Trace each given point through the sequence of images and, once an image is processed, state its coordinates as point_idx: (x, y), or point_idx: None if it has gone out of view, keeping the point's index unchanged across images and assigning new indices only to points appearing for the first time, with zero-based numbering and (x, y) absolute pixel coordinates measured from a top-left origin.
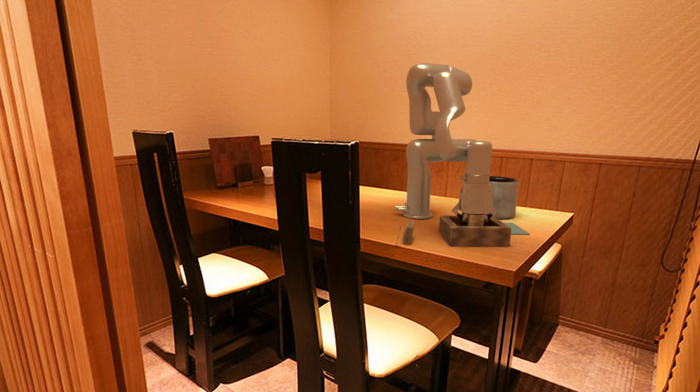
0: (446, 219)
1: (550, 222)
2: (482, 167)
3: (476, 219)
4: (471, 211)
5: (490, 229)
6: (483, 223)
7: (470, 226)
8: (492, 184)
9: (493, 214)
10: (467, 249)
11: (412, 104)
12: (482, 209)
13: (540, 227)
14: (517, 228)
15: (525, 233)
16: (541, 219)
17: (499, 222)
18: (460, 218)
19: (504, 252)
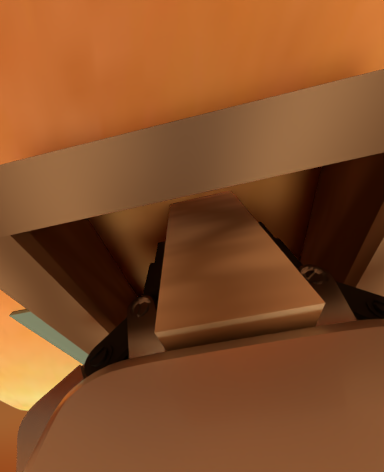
0: (379, 291)
1: (3, 381)
2: None
3: (230, 278)
4: (358, 372)
5: (96, 141)
6: (163, 264)
7: (303, 156)
8: None
9: (74, 375)
10: (275, 26)
11: None
12: (180, 455)
13: (10, 358)
14: (61, 340)
15: (23, 314)
16: (30, 388)
17: (59, 313)
18: (343, 288)
19: (26, 10)
